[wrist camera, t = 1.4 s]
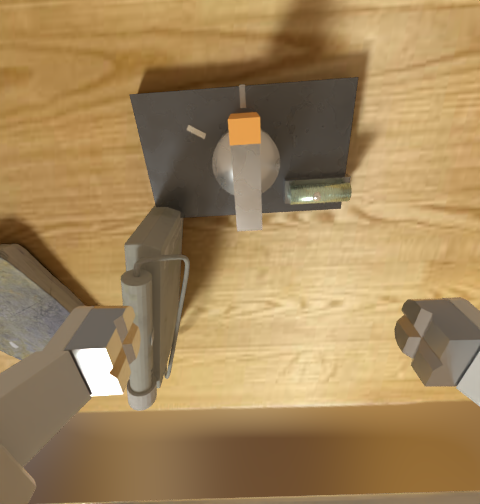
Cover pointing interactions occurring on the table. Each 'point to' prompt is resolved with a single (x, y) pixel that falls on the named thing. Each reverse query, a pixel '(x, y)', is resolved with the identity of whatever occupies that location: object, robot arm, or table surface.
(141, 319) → the geiger counter
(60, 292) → the grey stone slab
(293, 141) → the stand
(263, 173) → the knob
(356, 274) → the table surface
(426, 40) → the table surface
